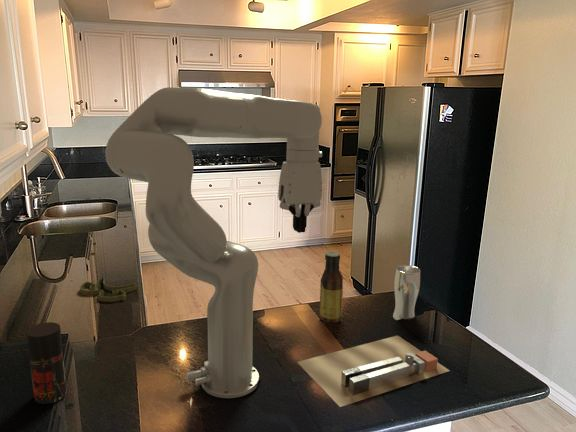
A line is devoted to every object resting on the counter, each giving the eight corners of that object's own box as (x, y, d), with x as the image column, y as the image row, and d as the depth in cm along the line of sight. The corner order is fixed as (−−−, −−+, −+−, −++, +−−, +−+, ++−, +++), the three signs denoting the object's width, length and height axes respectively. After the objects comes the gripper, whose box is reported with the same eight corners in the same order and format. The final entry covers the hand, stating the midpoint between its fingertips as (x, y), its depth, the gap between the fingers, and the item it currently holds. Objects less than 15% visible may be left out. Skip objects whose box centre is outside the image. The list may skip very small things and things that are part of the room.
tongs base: (409, 363, 109) (411, 350, 108) (423, 374, 105) (425, 359, 104) (341, 384, 100) (342, 369, 99) (354, 396, 96) (355, 381, 95)
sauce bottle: (327, 312, 137) (330, 247, 132) (345, 319, 133) (349, 252, 128) (314, 320, 132) (317, 253, 127) (332, 327, 128) (336, 258, 123)
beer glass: (386, 314, 136) (390, 266, 133) (406, 311, 139) (411, 263, 135) (400, 325, 130) (405, 274, 126) (421, 321, 133) (426, 272, 129)
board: (339, 412, 93) (340, 406, 93) (296, 366, 109) (296, 362, 108) (449, 375, 107) (449, 370, 106) (397, 339, 122) (397, 335, 122)
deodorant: (30, 395, 96) (22, 328, 92) (60, 383, 100) (54, 319, 96) (40, 408, 92) (31, 340, 88) (71, 396, 96) (64, 329, 92)
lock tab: (424, 359, 110) (425, 350, 110) (436, 368, 107) (437, 358, 106) (414, 362, 109) (415, 353, 108) (426, 371, 106) (427, 361, 105)
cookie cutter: (143, 290, 149) (143, 285, 149) (118, 305, 138) (118, 299, 138) (97, 282, 155) (97, 276, 154) (70, 296, 144) (69, 290, 143)
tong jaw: (397, 368, 107) (398, 356, 106) (401, 371, 105) (402, 360, 105) (341, 383, 100) (341, 371, 100) (345, 387, 99) (345, 375, 98)
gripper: (321, 154, 117) (318, 224, 122) (267, 155, 111) (265, 230, 115) (337, 157, 111) (333, 232, 115) (280, 159, 104) (278, 238, 109)
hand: (299, 231), depth 115 cm, fingers closed
